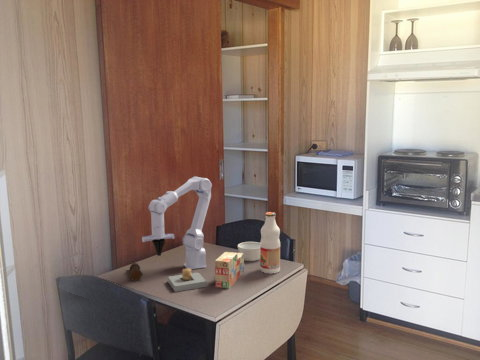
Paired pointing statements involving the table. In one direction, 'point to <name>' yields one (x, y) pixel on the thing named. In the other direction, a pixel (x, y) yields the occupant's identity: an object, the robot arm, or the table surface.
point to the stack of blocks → (228, 269)
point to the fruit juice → (270, 245)
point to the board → (187, 282)
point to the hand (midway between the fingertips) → (158, 255)
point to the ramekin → (250, 250)
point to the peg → (186, 275)
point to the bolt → (135, 271)
